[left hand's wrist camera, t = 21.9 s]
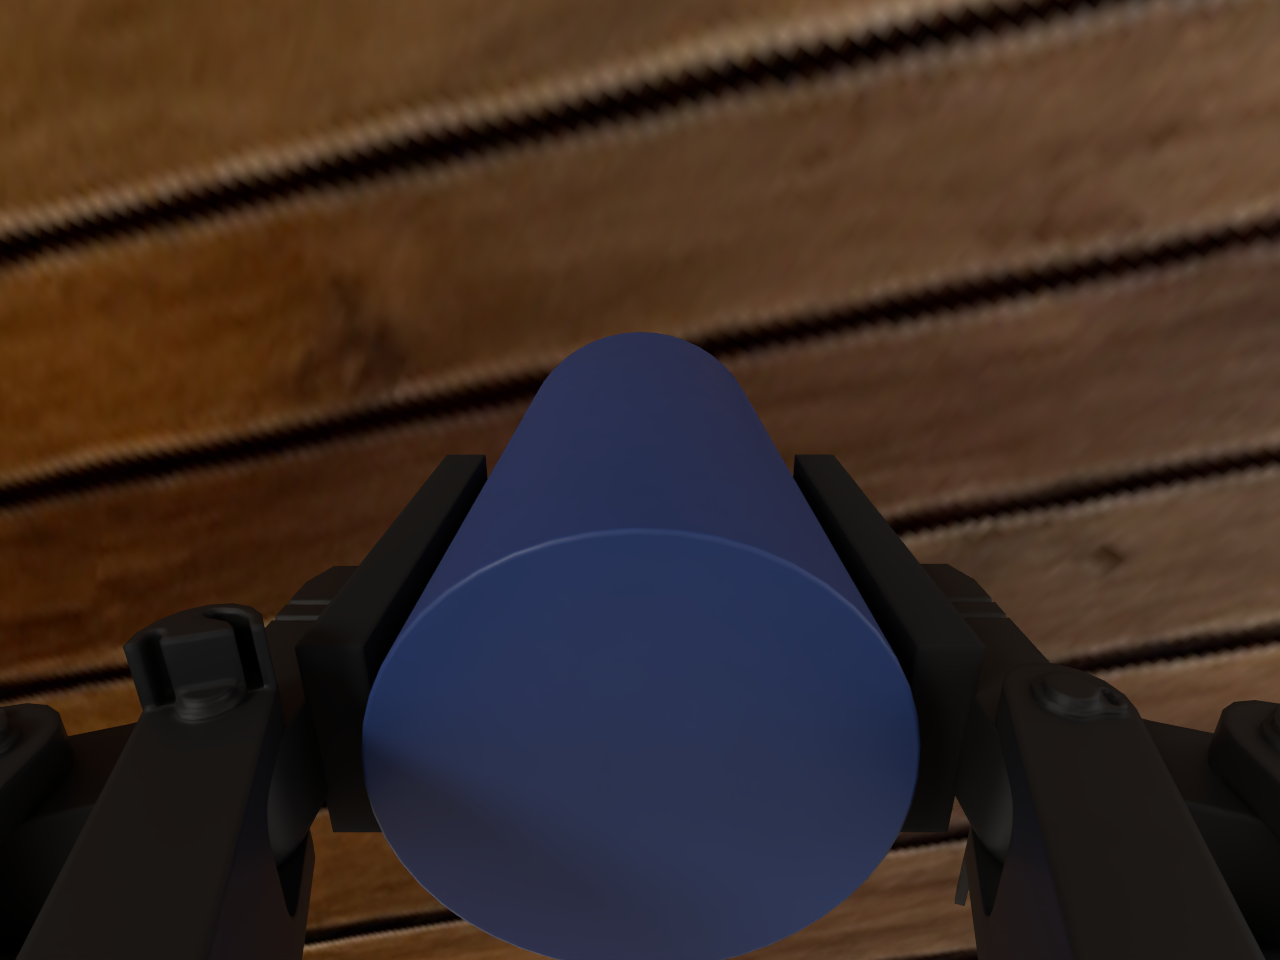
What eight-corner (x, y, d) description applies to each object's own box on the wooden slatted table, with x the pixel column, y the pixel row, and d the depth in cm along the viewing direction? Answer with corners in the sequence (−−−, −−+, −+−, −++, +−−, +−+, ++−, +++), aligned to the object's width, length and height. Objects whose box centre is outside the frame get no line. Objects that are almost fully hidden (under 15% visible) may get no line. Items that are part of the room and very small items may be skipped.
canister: (683, 284, 17) (759, 411, 6) (796, 485, 19) (1005, 852, 8) (478, 410, 18) (238, 704, 7) (604, 587, 20) (561, 1031, 9)
